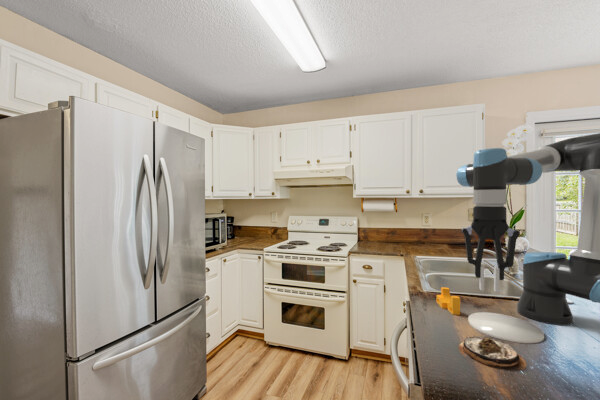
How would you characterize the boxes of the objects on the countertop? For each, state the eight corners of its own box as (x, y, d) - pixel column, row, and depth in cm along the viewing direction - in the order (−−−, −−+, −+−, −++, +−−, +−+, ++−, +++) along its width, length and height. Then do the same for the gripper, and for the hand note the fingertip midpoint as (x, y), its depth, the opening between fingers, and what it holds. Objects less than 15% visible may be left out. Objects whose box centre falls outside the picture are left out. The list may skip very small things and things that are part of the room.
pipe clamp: (436, 302, 114) (436, 287, 114) (447, 303, 113) (447, 287, 113) (447, 314, 102) (447, 297, 102) (460, 315, 101) (460, 298, 101)
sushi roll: (532, 379, 64) (532, 361, 64) (459, 362, 72) (459, 346, 72) (519, 348, 77) (518, 333, 77) (458, 337, 84) (457, 323, 84)
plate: (532, 322, 95) (532, 319, 95) (554, 351, 77) (555, 347, 77) (465, 311, 104) (465, 308, 104) (471, 335, 86) (471, 331, 86)
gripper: (521, 205, 75) (521, 290, 75) (455, 204, 82) (455, 282, 83) (529, 206, 69) (529, 299, 69) (457, 205, 76) (457, 290, 76)
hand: (489, 290), depth 76 cm, fingers open, 3 cm apart
